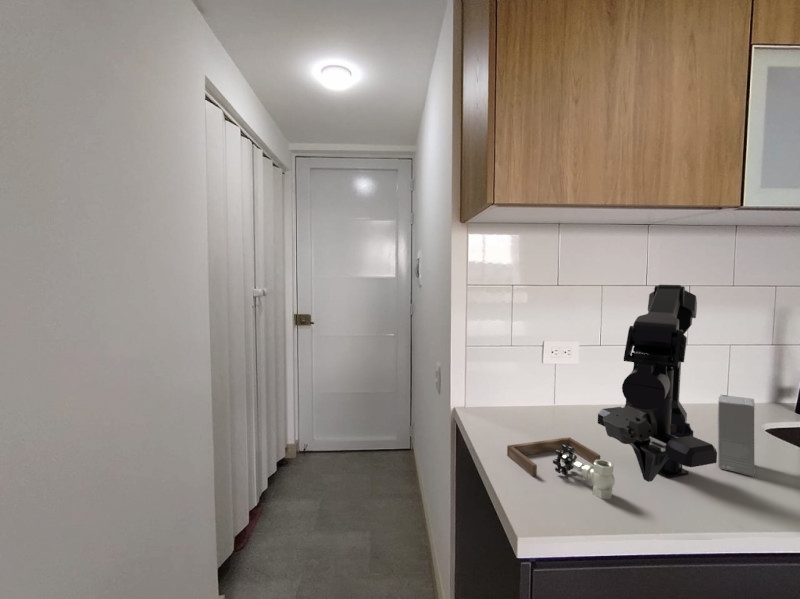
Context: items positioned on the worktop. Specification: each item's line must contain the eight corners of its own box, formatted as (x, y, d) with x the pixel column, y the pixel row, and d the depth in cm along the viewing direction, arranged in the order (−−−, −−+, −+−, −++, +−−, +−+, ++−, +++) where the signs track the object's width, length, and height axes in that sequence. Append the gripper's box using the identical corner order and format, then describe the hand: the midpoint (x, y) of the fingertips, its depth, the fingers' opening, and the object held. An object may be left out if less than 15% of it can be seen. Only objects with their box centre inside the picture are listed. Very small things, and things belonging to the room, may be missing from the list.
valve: (622, 495, 80) (572, 469, 91) (623, 464, 80) (573, 441, 91) (600, 504, 78) (552, 476, 88) (602, 471, 77) (552, 447, 88)
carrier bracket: (569, 446, 103) (569, 437, 102) (599, 465, 93) (600, 455, 92) (507, 455, 98) (507, 445, 98) (532, 476, 88) (532, 465, 87)
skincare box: (754, 478, 87) (759, 407, 86) (713, 467, 92) (717, 400, 91) (753, 464, 94) (758, 398, 92) (715, 454, 98) (719, 391, 97)
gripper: (575, 382, 75) (572, 462, 77) (665, 417, 58) (660, 520, 59) (622, 378, 79) (619, 454, 80) (722, 410, 61) (716, 508, 62)
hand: (648, 480), depth 70 cm, fingers closed
